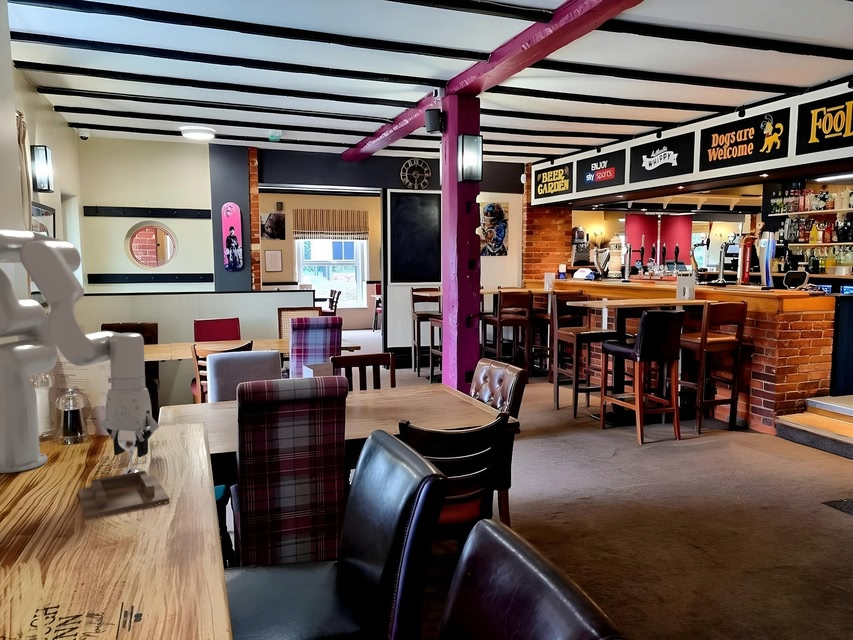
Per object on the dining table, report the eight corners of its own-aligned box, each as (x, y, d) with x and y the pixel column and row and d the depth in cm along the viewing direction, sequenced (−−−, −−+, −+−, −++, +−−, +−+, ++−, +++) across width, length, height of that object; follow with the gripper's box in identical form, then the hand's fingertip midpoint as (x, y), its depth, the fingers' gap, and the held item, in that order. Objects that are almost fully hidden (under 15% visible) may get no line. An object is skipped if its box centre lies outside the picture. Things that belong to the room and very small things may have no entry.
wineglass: (149, 468, 152) (147, 422, 150) (136, 476, 146) (134, 428, 145) (127, 467, 152) (125, 421, 151) (113, 475, 147) (111, 427, 145)
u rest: (78, 493, 135) (77, 478, 134) (155, 479, 144) (154, 465, 144) (85, 519, 122) (85, 503, 121) (169, 502, 131) (168, 486, 130)
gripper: (86, 384, 145) (89, 456, 146) (150, 388, 142) (152, 462, 143) (108, 378, 152) (111, 447, 154) (169, 382, 149) (171, 452, 151)
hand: (131, 453), depth 149 cm, fingers closed on wineglass, 5 cm apart
